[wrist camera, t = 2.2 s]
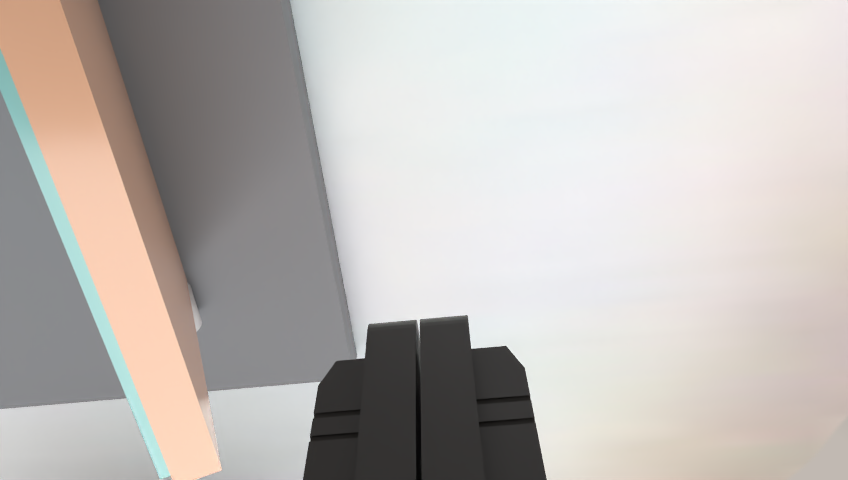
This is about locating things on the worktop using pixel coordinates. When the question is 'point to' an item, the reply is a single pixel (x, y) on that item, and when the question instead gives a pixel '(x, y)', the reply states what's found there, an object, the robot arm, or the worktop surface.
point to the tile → (110, 219)
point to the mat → (191, 210)
